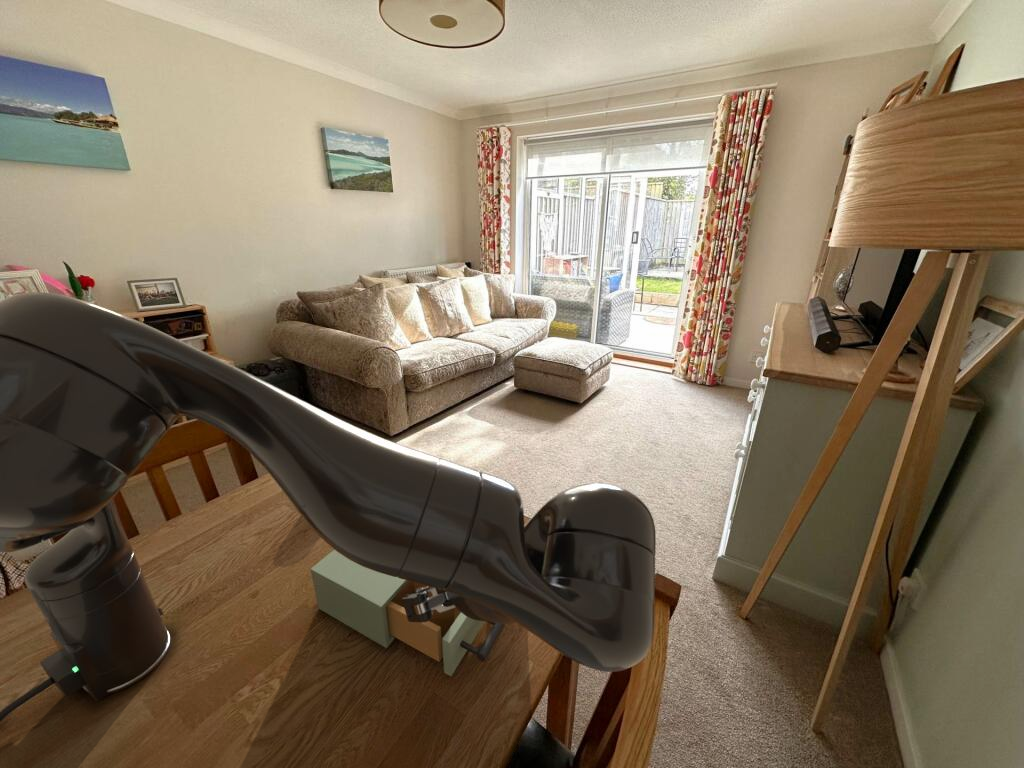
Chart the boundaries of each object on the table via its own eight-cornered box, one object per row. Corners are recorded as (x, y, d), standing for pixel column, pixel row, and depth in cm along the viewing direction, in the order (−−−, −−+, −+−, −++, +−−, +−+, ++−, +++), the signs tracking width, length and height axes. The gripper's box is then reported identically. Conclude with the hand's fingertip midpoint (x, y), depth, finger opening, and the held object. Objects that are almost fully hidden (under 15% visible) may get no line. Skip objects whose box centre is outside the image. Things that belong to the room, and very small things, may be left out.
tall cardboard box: (439, 600, 66) (435, 543, 61) (455, 629, 61) (452, 570, 57) (415, 612, 64) (410, 554, 59) (430, 643, 59) (426, 582, 55)
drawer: (511, 627, 63) (512, 596, 60) (477, 691, 54) (476, 657, 52) (420, 584, 70) (418, 554, 68) (377, 634, 61) (372, 602, 59)
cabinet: (433, 590, 70) (431, 552, 67) (386, 648, 60) (381, 607, 57) (370, 560, 76) (365, 523, 73) (318, 608, 66) (310, 569, 63)
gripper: (444, 659, 34) (406, 642, 47) (570, 584, 42) (507, 587, 55) (417, 570, 36) (387, 577, 49) (541, 514, 44) (487, 533, 57)
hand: (450, 582), depth 52 cm, fingers open, 8 cm apart
